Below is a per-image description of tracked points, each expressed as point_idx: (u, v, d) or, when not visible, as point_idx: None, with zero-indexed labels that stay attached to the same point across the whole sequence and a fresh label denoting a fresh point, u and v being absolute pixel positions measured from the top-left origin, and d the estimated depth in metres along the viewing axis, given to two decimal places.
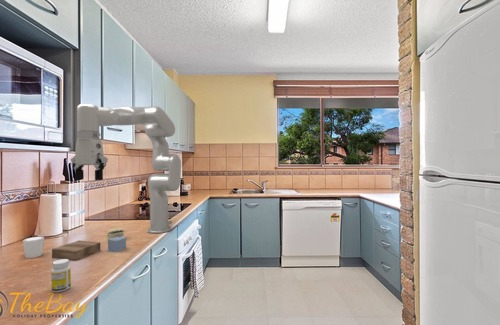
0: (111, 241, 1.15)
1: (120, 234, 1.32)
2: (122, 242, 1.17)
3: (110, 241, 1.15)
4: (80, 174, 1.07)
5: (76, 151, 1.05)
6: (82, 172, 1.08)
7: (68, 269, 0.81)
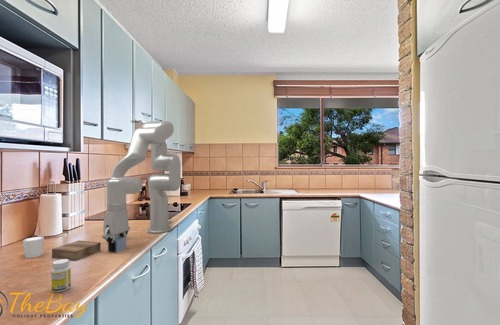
0: None
1: None
2: (122, 242, 1.17)
3: None
4: None
5: (114, 223, 1.13)
6: None
7: (68, 269, 0.81)
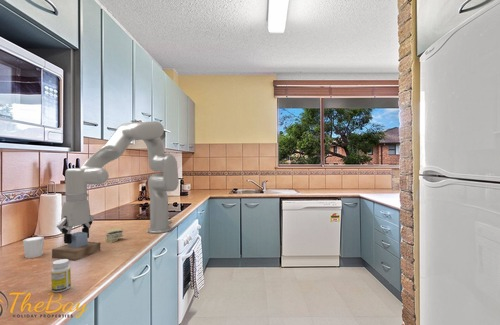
0: None
1: (119, 235, 1.31)
2: (82, 237, 1.11)
3: None
4: None
5: (72, 214, 1.08)
6: None
7: (68, 269, 0.81)
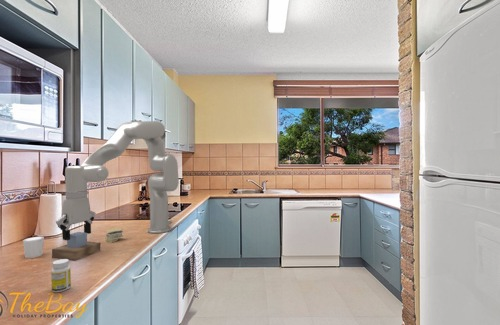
0: (70, 236, 1.10)
1: (119, 235, 1.31)
2: (82, 237, 1.11)
3: None
4: None
5: (72, 211, 1.08)
6: None
7: (68, 269, 0.81)
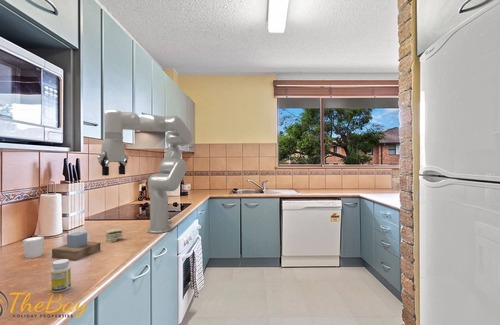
0: (70, 236, 1.10)
1: (118, 235, 1.31)
2: (83, 237, 1.12)
3: (69, 236, 1.10)
4: None
5: (111, 150, 1.19)
6: None
7: (68, 269, 0.81)
